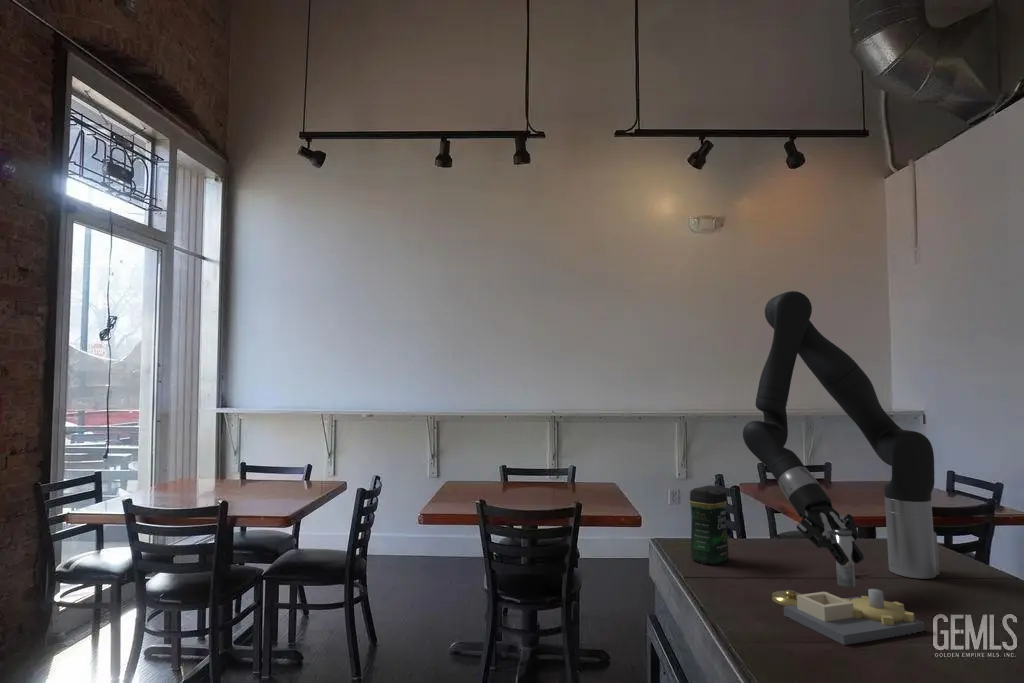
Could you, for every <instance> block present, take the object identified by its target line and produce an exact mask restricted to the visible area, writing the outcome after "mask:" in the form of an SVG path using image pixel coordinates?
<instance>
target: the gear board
mask: <svg viewBox="0 0 1024 683" xmlns="http://www.w3.org/2000/svg"><path fill="white" fill-rule="evenodd" d="M867 591H868V592H867V593H868V595H861V596H860V597H859V596H852V597H851V596H850V597H844V598H842V597H839V596H837V595H834V594H831V593H830V592H827V591H818V592H812V593H811V592H810V593H801V594H802V595H797V605H792V606H783V616H784V617H786V618H788V617H789V619H790V620H793V621H794V622H797V623H799V624H801V625H803V626H804V627H807V628H809V629H811V630H813V631H814V632H816V633H818V634H821V635H823V636H825V637H826V638H830V639H831V640H833V641H835V642H837V643H839V644H840V645H843V646H846V645H853V644H858V643H860V644H861V643H865V642H866V643H867V642H871V641H878V640H884V639H889V638H895V636H896V637H901V635H902V636H906V634H908V635H912V634H911V633H914V634H917V633H916V632H920V631H924V630H925V622H923V621H921V620H918V619H916V618H915V613H914V612H910V611H907V610H906V609H905V604H904V603H902V602H899V601H887V600H885V599H884V597H885V596H884V591H883V590H881V589H877V588H869V589H867Z"/></svg>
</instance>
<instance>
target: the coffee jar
mask: <svg viewBox="0 0 1024 683" xmlns="http://www.w3.org/2000/svg"><path fill="white" fill-rule="evenodd" d="M727 499H728V496H727V491H726V489H724V487H722V486H716V485H705V486H700V487H694V488H693V489H692V490H690V491H689V504H690V513H691V535H690V536H691V537H690V558H691V560H694V561H696V562H697V561H698V563H699V562H701V563H700V564H703V563H705V564H712V565H717V564H720V563H724V562H726V561H727V560H728V559H729V555H730V554H729V540H728V531H727V529H728V528H727V504H728V500H727Z"/></svg>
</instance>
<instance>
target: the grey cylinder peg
mask: <svg viewBox="0 0 1024 683" xmlns="http://www.w3.org/2000/svg"><path fill="white" fill-rule="evenodd" d="M833 533H834V538H835V540H836V544H839V546H840V547H841V549H842V550H843V551H844V553H845V554H846V556H847V557H848V559H849V562H848V563H847V564H846V565H840V564H839V563H838V562H837V561H836V560H835V566H836V578H837V579H836V580H837V585H839V586H842V587H845V588H846V587H848V588H853V587H856V579H855V578H856V577H855V566H854V565H855V562H854V561H853V548H852V530H850V529H846V528H834V529H833Z"/></svg>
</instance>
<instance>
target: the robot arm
mask: <svg viewBox="0 0 1024 683" xmlns="http://www.w3.org/2000/svg"><path fill="white" fill-rule="evenodd" d="M811 302H812V301H811V300H810V299H809V298H808V296H807V295H805V294H804V293H802V292H800V291H795V290H792V291H791V290H790V291H786V292H783V293H780V294H777V295H775V296H773V297H772V298H770V299H769V300H768V302H767V303H766V305H765V308H764V317H765V319H766V322H767V323H768V324H769V326H770V327H771V328H772V329H773V337H772V342H771V347H770V351H769V354H768V356H767V358H766V361H765V363H764V366H763V368H762V372H761V374H760V379H759V382H758V388H757V393H756V396H755V397H756V398H755V407H756V409H757V410H758V411H761V412H762V414H763V421H762V420H761V421H760V420H753V421H748V423H746V425H744V427H743V430H742V439H743V441H744V444H745V445H746V447H747V448H748V450H749V451H750V452H751V453H752V454H753V455H754V456H755V457H756V458H757V459H758V460H759V461H760V462H761V463H762V464H763V465H765V466H766V467H767V468H768V470H769V471H770V473H771V474H772V476H773V478H774V479H775V480H776V482H777V483H778V485H779V487H780V489H781V491H782V493H783V495H784V496H785V498H786V499H787V500H788V502H789V503H790V505H791V506H792V508H793V509H794V511H795V512H796V513H797V515H798V516H799V518H801V520H800V522H798V523H797V525H796V529H797V530H798V531H799V532H800V533H801V534H802V535H803V536H804V537H806V538H807V539H808V540H809V541H810V542H811V543H813V545H815V547H817V548H818V549H821V548H825V549H826V550H828V551H829V553H830V554H831V555H832V557H833V558H834V560H835V562H836V561H837V562H838V563H839V564H840V565H846V564H847V563H848V562H849V559H848V557H847V556H846V554H845V553H844V551H843V550H842V549H841V547H840V546H839V544H836V540H835V538H834V533H833V529H834V528H846V529H850V530H852V548H853V561H854V564H860V563H861V562H863V560H865V558H864V557H865V556H864V554H863V553H862V551H861V550H860V549H859V547H858V545H856V543H855V542H856V541H857V540H858V539H859V538H860V534H859V532H858V529H857V526H856V523H855V520H854V517H853V515H852V514H848V513H847V514H846V515H842V514H840V513H839V511H837V510H836V509H835V508H834V507H833V506H832V500H831V498H830V497H829V495H828V494H827V492H826V491H825V490H824V489H823V487H822V486H821V485H820V483H819V482H818V480H817V478H815V477H814V475H813V474H812V473H811V472H810V471H809V470H808V469H807V467H806V466H805V465H804V463H803V462H802V460H801V459H800V458H799V456H797V454H796V453H795V452H794V451H792V450H791V449H789V448H786V447H785V445H786V444H787V441H788V436H789V429H788V428H789V426H788V417H787V416H788V415H787V405H788V401H789V394H790V388H791V385H792V378H793V372H794V369H795V365H796V359H797V356H799V357H800V358H801V360H802V361H803V363H805V365H806V366H807V368H808V369H809V370H810V371H811V373H812V374H813V375H814V376H815V378H816V380H818V381H819V383H820V385H822V387H823V388H824V389H825V390H826V392H827V394H829V395H830V397H831V398H833V400H835V401H836V403H837V404H838V405H839V407H840V408H841V409H842V410H843V411H844V412H845V414H847V416H848V417H849V418H850V419H851V420H852V422H854V423H855V424H856V426H857V428H859V430H860V431H861V432H862V435H863V436H864V437H865V439H866V440H867V441H868V443H869V445H870V446H871V447H872V449H873V450H874V452H875V454H876V456H878V457H879V458H880V460H881V461H882V462H884V463H885V464H886V465H888V466H890V467H891V479H890V481H889V482H888V483H886V484H884V488H883V491H884V504H885V505H884V507H885V508H884V509H885V521H886V522H885V523H886V524H885V525H886V539H887V540H886V541H887V542H886V543H887V557H888V558H887V559H888V570H889V571H890V572H891V573H892V574H895V575H898V576H902V577H906V578H912V579H923V580H924V579H925V580H927V579H934V578H936V577H937V576H939V575H940V565H939V564H940V563H939V548H938V537H937V533H936V531H934V519H933V506H932V505H933V502H932V492H933V489H934V488H935V453H934V448H933V445H932V443H931V441H930V440H929V438H928V437H927V436H926V435H924V434H923V433H921V432H918V431H914V430H909V429H903V428H901V427H900V426H899V425H897V423H896V422H895V421H894V420H893V419H892V417H890V416H889V415H888V413H887V412H886V411H885V410H884V408H883V406H882V405H881V403H880V401H879V399H878V395H877V393H876V390H875V387H874V385H873V383H872V381H871V379H870V378H869V377H868V375H867V374H866V373H865V371H864V370H863V369H862V368H861V367H860V366H859V364H858V363H857V362H856V361H855V360H854V359H853V358H852V357H851V356H850V355H849V354H848V353H846V351H845V350H843V349H841V348H840V347H839V346H837V345H836V344H834V343H833V342H831V341H830V340H829V339H828V338H827V337H825V336H824V335H823V334H822V333H821V332H820V331H819V330H818V329H817V328H816V327H815V325H814V324H813V323H812V321H811V320H810V319H811V316H812V313H813V305H812V303H811Z"/></svg>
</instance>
